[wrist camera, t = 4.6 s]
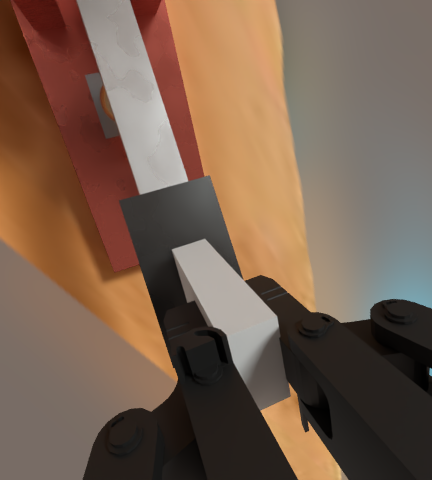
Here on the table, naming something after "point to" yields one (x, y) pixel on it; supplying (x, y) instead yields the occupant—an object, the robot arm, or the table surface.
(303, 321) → the robot arm
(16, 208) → the table surface
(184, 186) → the nutcracker lever
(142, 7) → the nutcracker base
